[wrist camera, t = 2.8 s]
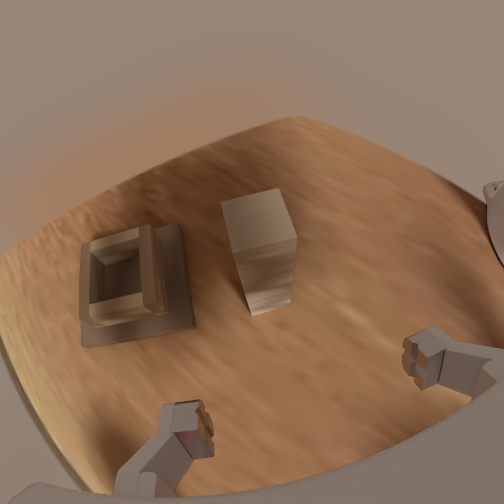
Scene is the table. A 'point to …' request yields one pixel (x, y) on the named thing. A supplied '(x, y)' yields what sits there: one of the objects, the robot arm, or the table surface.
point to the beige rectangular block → (262, 248)
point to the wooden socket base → (134, 286)
